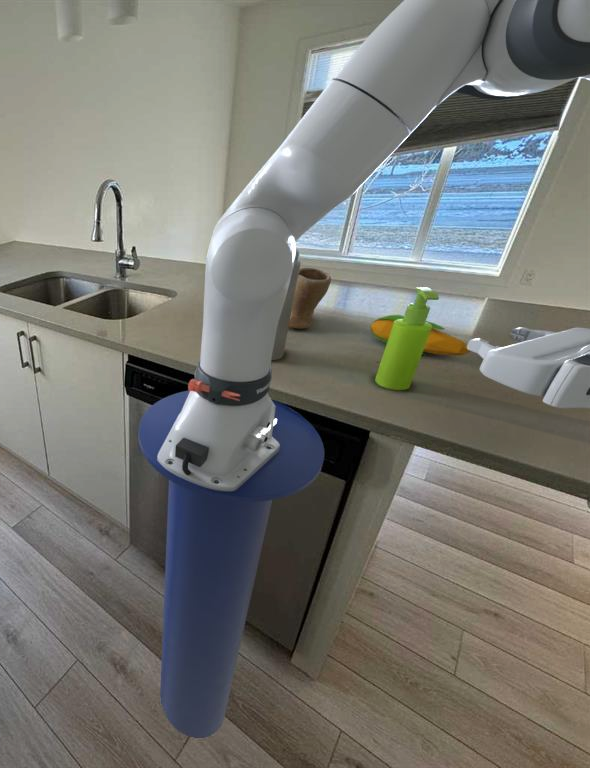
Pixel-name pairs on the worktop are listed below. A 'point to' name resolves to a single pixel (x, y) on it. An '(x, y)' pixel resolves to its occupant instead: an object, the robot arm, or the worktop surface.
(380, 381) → the soap dispenser
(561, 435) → the worktop surface
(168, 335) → the worktop surface
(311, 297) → the stone cup
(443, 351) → the corn
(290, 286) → the thermos bottle
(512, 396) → the worktop surface
